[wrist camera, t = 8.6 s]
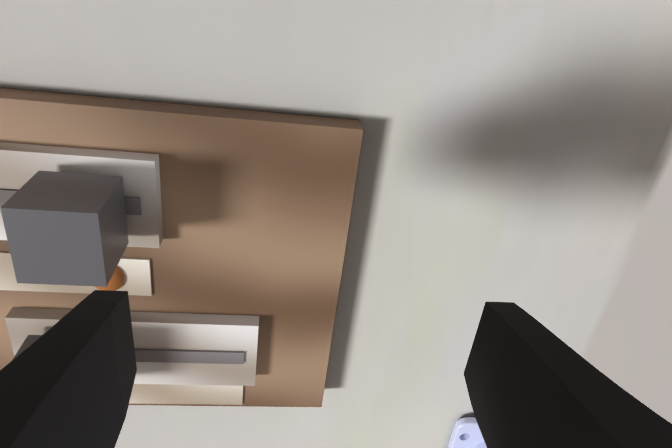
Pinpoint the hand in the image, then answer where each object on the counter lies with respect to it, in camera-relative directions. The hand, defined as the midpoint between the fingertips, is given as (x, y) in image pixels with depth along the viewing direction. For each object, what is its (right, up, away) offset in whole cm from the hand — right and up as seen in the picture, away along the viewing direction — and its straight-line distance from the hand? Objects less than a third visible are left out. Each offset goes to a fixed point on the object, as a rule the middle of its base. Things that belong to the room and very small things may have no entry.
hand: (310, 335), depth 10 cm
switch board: (-8, +1, +9) cm, 12 cm away
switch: (-7, +3, +6) cm, 10 cm away
